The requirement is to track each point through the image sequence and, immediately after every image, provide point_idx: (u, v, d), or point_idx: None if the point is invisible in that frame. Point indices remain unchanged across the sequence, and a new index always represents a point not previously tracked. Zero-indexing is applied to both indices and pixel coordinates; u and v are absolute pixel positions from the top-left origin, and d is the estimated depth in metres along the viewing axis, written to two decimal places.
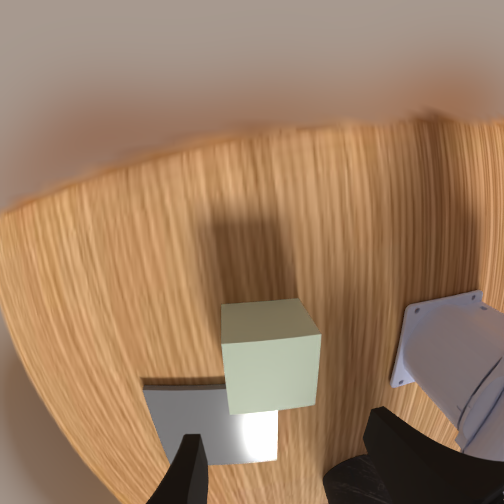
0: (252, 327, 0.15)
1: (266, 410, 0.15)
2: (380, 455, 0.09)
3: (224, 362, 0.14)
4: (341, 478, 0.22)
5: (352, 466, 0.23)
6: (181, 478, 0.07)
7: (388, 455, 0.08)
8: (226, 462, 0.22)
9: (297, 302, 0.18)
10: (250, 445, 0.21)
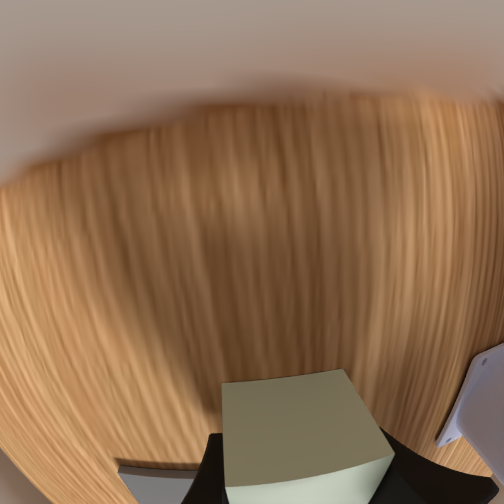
0: (278, 443, 0.08)
1: None
2: None
3: (231, 502, 0.06)
4: None
5: None
6: (213, 478, 0.07)
7: None
8: None
9: (343, 380, 0.10)
10: None
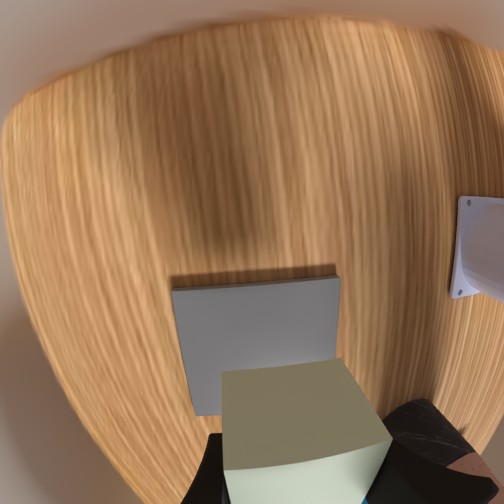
0: (276, 428, 0.08)
1: None
2: None
3: (229, 488, 0.06)
4: (399, 427, 0.20)
5: (409, 411, 0.20)
6: (213, 478, 0.07)
7: None
8: None
9: (341, 368, 0.11)
10: None
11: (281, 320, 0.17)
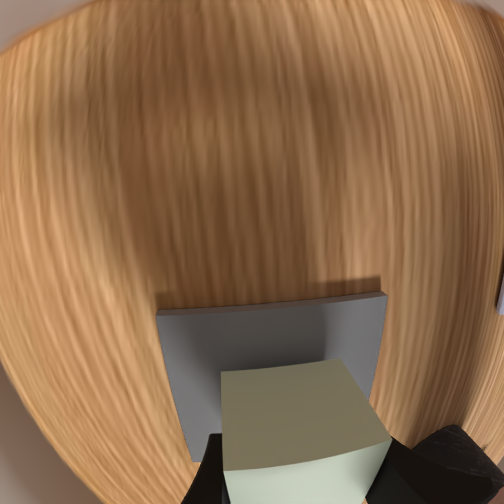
0: (276, 429, 0.08)
1: None
2: None
3: (229, 488, 0.07)
4: (429, 459, 0.15)
5: (440, 441, 0.15)
6: (213, 478, 0.07)
7: None
8: None
9: (340, 369, 0.11)
10: None
11: (308, 353, 0.12)
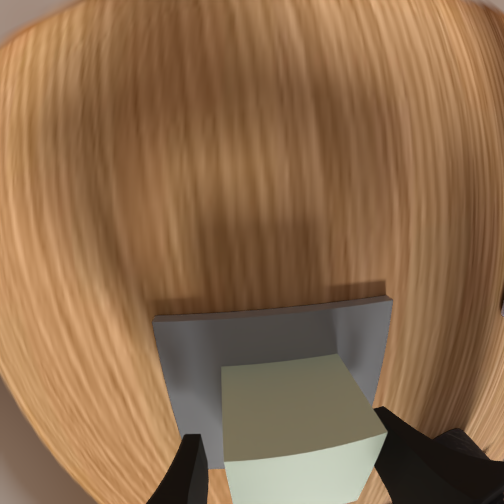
0: (275, 421, 0.08)
1: None
2: (380, 455, 0.09)
3: (229, 480, 0.07)
4: None
5: (443, 445, 0.15)
6: (181, 478, 0.07)
7: (388, 455, 0.08)
8: None
9: (338, 364, 0.11)
10: None
11: None
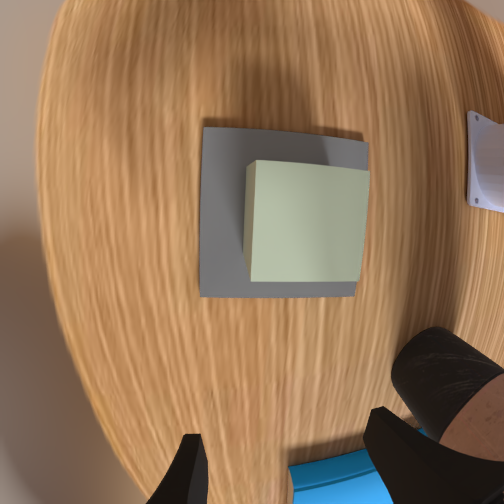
0: None
1: (299, 279, 0.13)
2: (380, 455, 0.09)
3: (256, 187, 0.12)
4: (424, 349, 0.19)
5: (433, 334, 0.20)
6: (181, 478, 0.07)
7: (388, 455, 0.08)
8: (287, 293, 0.18)
9: None
10: None
11: None
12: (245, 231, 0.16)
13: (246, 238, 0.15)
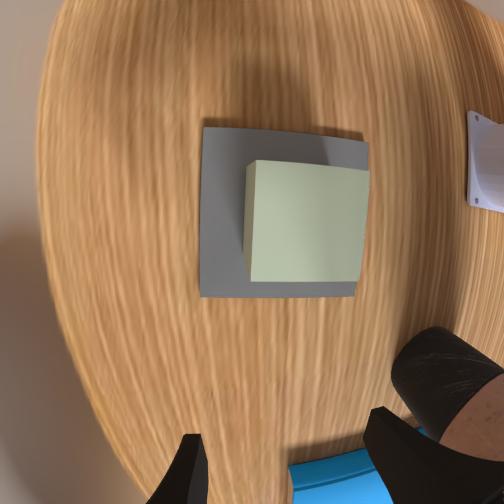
0: None
1: (299, 279, 0.13)
2: (380, 455, 0.09)
3: (256, 187, 0.12)
4: (424, 349, 0.19)
5: (433, 334, 0.20)
6: (181, 478, 0.07)
7: (388, 455, 0.08)
8: (287, 293, 0.18)
9: None
10: None
11: None
12: (245, 231, 0.16)
13: (246, 238, 0.15)
